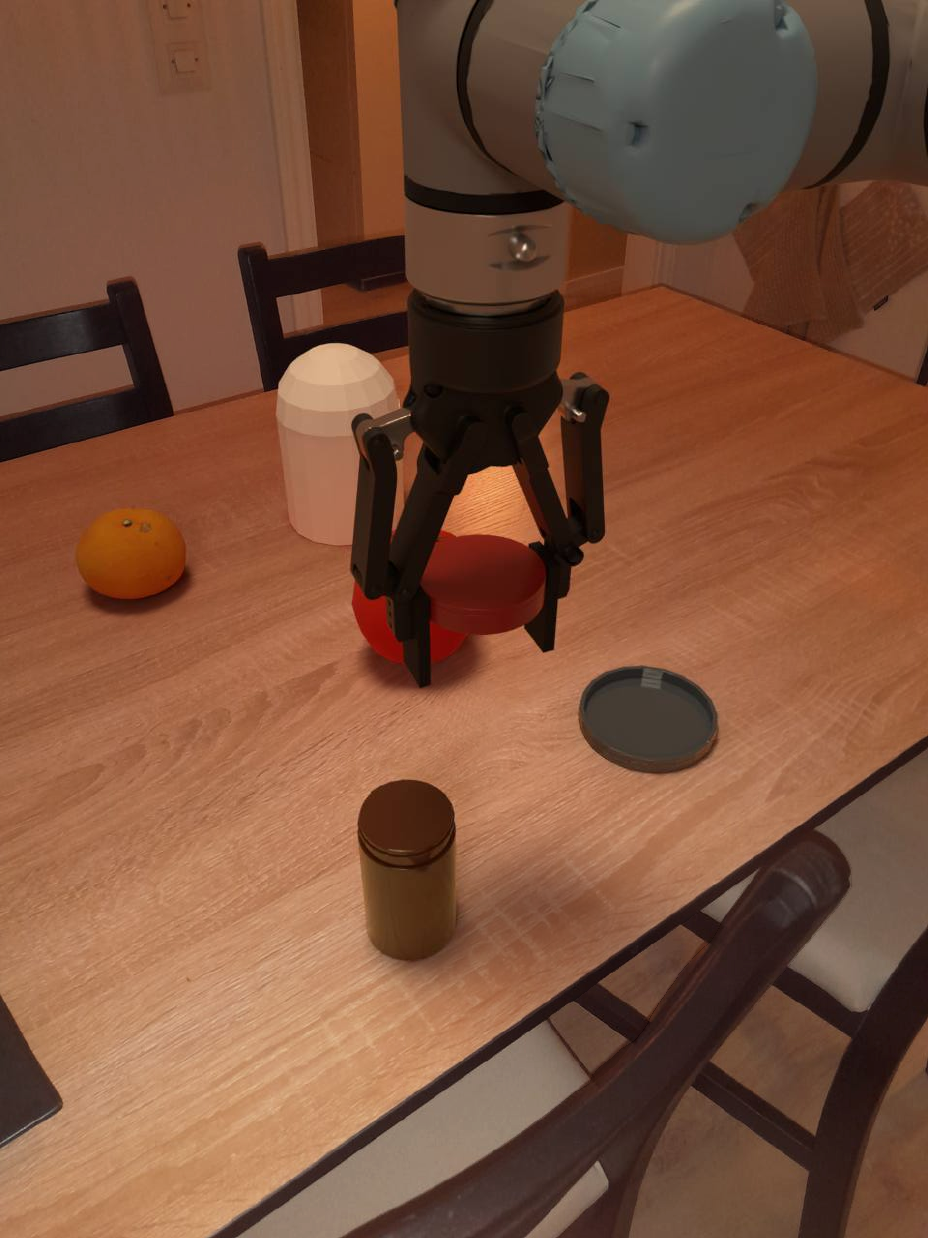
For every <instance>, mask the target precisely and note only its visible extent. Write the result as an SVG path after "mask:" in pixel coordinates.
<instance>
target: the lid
mask: <svg viewBox="0 0 928 1238" xmlns="http://www.w3.org/2000/svg"><path fill="white" fill-rule="evenodd" d="M545 584H546V568H545V565H544V563H543V561H542V559H541V558H540V556H539V555H538V554H537V553H536V552H535V551H533V550H532V549H531V548H529V547H528V545H526V544H524V543H522V542H520V541H518V540H515V539H512V538H509V537H505V536H502V535H501V536H500V535H496V534H480V533H477V534H464V535H459V536H456V537H453V538H450V539H447V540H444V541H441V542H439V543H437V544H435V546H434V549H433V551H432V554H431V556H430V559H429V561H428V564H427V566H426V569H425V571H424V574H423V576H422V579H421V582H420V585H421V587H422V588H423V590H424V591H425V592H426V594H427V595H428V597H429V598H430V620H431V621H432V622H433V623H435V624H437V625H439V626H441V627H443V628H445V629H448V630H451V631H454V632H458V633H463V634H467V635H471V636H490V635H499V634H503V633H508V632H511V631H514V630H516V629H519V628H521V627H524V625H525V624H527V623H528V622H530V621H531V620H532V619H534V618H535V616H536V615H537V614H538V613H539V612H540V610H541V608H542V606H543V604H544V599H545Z"/></svg>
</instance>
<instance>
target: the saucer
mask: <svg viewBox="0 0 928 1238" xmlns="http://www.w3.org/2000/svg"><path fill="white" fill-rule="evenodd" d="M577 714H578V723H579V728H580V731H581V734H582V735H583V738H584V739H585V740H586V742H587V743H588V744H589V746H590V747H591V748H592V749H593V750H594V751H595V752H596V753H597V754H599V755H601V757H603V758H604V759H606V760H608V761H610V762H612V763H613V764H616V765H618V766H620V767H624V768H626V769H629V770H633V771H638V772H643V773H657V774H659V773H668V772H675V771H679V770H683V769H686V768H688V767H691V766H692V765H694V764H696V763H698V762H699V761H700V760H702V759H703V758H704V757H705V756H706V755H707V754H708V753H709V751H710V750H711V748H712V746H713V743H714V741H715V740H716V737H717V731H718V722H719V721H718V719H719V714H718V712H717V709H716V707H715V704H714V702H713V700H712V698H711V697H710V696H709V695H708V694H707V693H706V691H704V690H703V689H702V687H701V686H700V685H699V684H697V683H695V682H693V680H690V679H689V678H687V677H686V676H684V675H682V674H679V673H676V672H674V671H671V670H668V669H666V668H660V667H654V666H649V665H632V666H631V665H630V666H621V667H617V668H613V669H611V670H607V671H604V672H603V673H601V674H600V675H598V676H597V677H595V678H594V679H591V681H590V682H589V683H588V684H587V686H586V687H585V688H584V690H583V691H582V693H581V697H580V701H579V706H578V713H577Z"/></svg>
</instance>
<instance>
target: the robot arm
mask: <svg viewBox="0 0 928 1238" xmlns="http://www.w3.org/2000/svg"><path fill="white" fill-rule="evenodd" d="M392 1H393V7H394V8H395V10H396V22H397V24H396V25H397V44H398V45H397V46H398V47H397V48H398V68H399V69H398V70H399V94H400V95H399V96H400V115H401V117H400V118H401V138H402V141H401V143H402V162H403V163H402V166H403V197H404V198H403V200H404V201H403V202H404V203H403V204H404V255H405V256H404V258H405V260H404V261H405V278H406V280H407V283H408V284H410V285H411V286H412V287H413V289H412V290H411V291H410V293H409V294H408V296H407V298H406V313H407V338H408V339H407V340H408V342H407V343H408V364H409V374H410V381H409V386H408V390H407V393H406V395H405V397H404V399H403V401H402V406H401V407H400V409H398V410H396V411H393V412H391V413H388V414H386V415H383V416H381V417H378V418H375V419H373V417H372V416H371V415H369V414H367V413H360V414H358V415H356V416H355V417H354V418H353V420H352V423H351V428H352V432H353V435H354V438H355V442H356V445H357V448H358V452H359V455H360V459H359V471H358V482H357V494H356V505H355V517H354V528H353V540H352V545H351V551H350V564H349V565H350V566H349V571H350V574H351V575H352V577H353V579H354V582H355V581H356V582H357V584H358V586H359V587H360V589H361V591H362V592H363V594H364V595H365V597H366V598H367V599H369V600H376V599H379V598H380V597H382V596H385V601H386V615H387V616H386V618H387V624H388V626H389V628H390V629H391V631H392V632H393V634H394V636H395V637H396V639H397V641H398V642H399V643H400V642H403V660H404V663H405V664H404V665H405V667H406V668H407V670H408V671H409V673H410V675H411V677H412V678H413V680H414V682H415V683H416V685H417V686H418V688H419V689H423V688H427V687H430V686H432V664H431V642H430V598H429V597H428V595H427V594H426V592H425V591H424V590H423V588H422V587H421V585H420V582H421V579H422V576H423V574H424V571H425V569H426V566H427V564H428V561H429V559H430V556H431V554H432V551H433V549H434V546H435V543H436V541H437V538H438V536H439V533H440V531H441V530H442V529H443V525H444V523H445V520H446V518H447V515H448V513H449V510H450V508H451V505H452V503H453V500H454V498H455V497H456V496H460V495H461V494H462V491H463V489H464V487H465V484H466V481H467V479H468V477H469V476H470V475H475V474H478V473H480V472H483V471H484V470H487V469H489V468H491V467H493V468H494V467H496V468H507V467H510V466H511V467H512V470H513V472H514V475H515V477H516V479H517V481H518V484H519V487H520V489H521V491H522V493H523V496H524V498H525V501H526V503H527V505H528V508H529V510H530V513H531V515H532V518H533V520H534V522H535V525H536V527H537V530H538V533H539V535H540V537H541V538H542V539H543V543H542V542H541V540H537V541H533V542H529V543H528V544H527V546H528V547H529V548H531V549H532V550H533V551H535V552H536V553H537V554H538V555H539V556H540V558H541V559H542V561H543V563H544V565H545V568H546V584H545V599H544V604H543V606H542V608H541V610H540V612H539V613H538V614H537V615H536V616H535V618H534V619H532V620H531V621H530V622H528V623H527V624H525V625H523V629H524V630H525V631H526V633H527V634H528V635H529V636H530V638H531V639H532V640H533V642H534V643H535V644H536V645H537V647H538V648H539V650H540V651H541V652H542V653H543V654H544V653H548V652H551V651H555V643H556V631H557V630H556V629H557V616H558V606H559V600H560V599H565V598H567V596H568V594H569V592H570V589H571V579H572V577H571V576H572V568H573V567H574V568H575V567H577V566H579V565H580V564H581V563H582V561H583V560H584V557H585V553H584V551H583V550H582V549H581V548H580V547H582V546H583V545H585V544H587V543H589V544H591V545H596V544H598V543H600V542H602V540H603V539H604V537H605V536H606V516H605V515H606V512H605V494H604V493H605V492H604V491H605V490H604V489H605V488H604V473H603V472H604V469H603V447H602V446H603V445H602V428H603V424H604V420H605V417H606V413H607V411H608V410H607V409H608V406H609V403H610V398H611V397H610V393H609V392H608V390H606V389H605V387H603V386H601V385H600V384H598V383H597V382H596V381H595V380H593V378H591V377H589V375H587V374H586V373H585V372H582V371H577V372H574V373H573V374H572V375H571V376H570V377H569V379H568V378H567V379H566V378H559V375H558V371H557V370H558V368H559V366H560V363H561V358H562V346H563V331H564V314H565V299H564V296H563V294H561V292H560V291H559V288H560V287H561V286H563V285H564V283H565V281H566V274H567V263H568V261H567V260H568V259H567V258H568V246H569V233H570V219H571V218H570V216H571V206H573V207H574V208H576V209H578V211H579V212H580V213H581V214H583V215H584V216H587V217H588V216H589V217H590V218H591V219H592V220H594V221H595V222H596V223H597V224H599V225H602V226H608V225H609V226H611V227H612V228H613V229H615V230H616V231H618V232H620V233H623V234H629V235H633V236H634V235H635V236H641V237H644V238H647V239H649V240H653V241H655V242H659V243H662V244H665V245H673V246H691V247H692V246H698V245H703V244H707V243H708V244H709V243H713V242H716V241H719V240H721V239H724V238H726V237H727V236H728V235H730V234H731V233H733V232H735V231H736V229H737V228H738V227H739V226H741V225H742V224H743V223H744V222H745V221H747V220H748V219H749V218H751V217H752V216H754V215H755V214H757V213H759V212H761V211H763V210H765V209H766V208H767V207H768V206H769V205H770V204H771V203H772V202H773V201H774V200H775V199H776V198H777V197H778V196H779V194H782V193H792V192H796V191H799V190H800V191H801V190H811V189H815V188H819V187H827V186H835V185H844V184H853V183H859V182H867V181H891V182H900V183H904V184H905V183H906V184H911V185H916V186H921V187H926V188H928V0H392ZM556 410H557V412H558V414H559V415H560V418H559V419H560V436H561V449H562V450H561V452H562V462H563V475H564V476H563V477H564V488H565V490H564V491H565V503H566V513H565V510H564V507H563V505H562V502H561V499H560V497H559V494H558V491H557V488H556V487H555V483H554V481H553V478H552V476H551V473H550V470H549V468H550V463H549V461H548V457H547V456H546V452H545V450H544V448H543V445H542V442H541V439H540V437H539V436H540V434H541V433H542V431H543V429H544V428H545V427H546V425H547V424H548V422H549V421H550V419H551V418H552V416H553V415H554V413H555V412H556ZM414 433H415V435H417V437H419V439H420V440H421V442H422V444H421V447H420V450H419V452H418V455H417V457H416V464H415V465H416V474H415V477H414V480H413V482H412V484H411V488H410V489H409V493H408V496H407V498H406V501H405V503H404V509H403V512H402V514H401V517H400V520H399V522H398V525H397V528H396V531H395V533H394V536H393V539H392V541H391V535H392V526H393V517H394V508H395V499H396V490H397V477H398V476H397V466H396V461H399V460H401V459H402V460H403V458H404V451H405V442H406V440H407V438H408V437H409V436H410V435H411V434H414ZM390 543H391V544H390Z"/></svg>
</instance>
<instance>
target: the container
mask: <svg viewBox="0 0 928 1238" xmlns="http://www.w3.org/2000/svg"><path fill="white" fill-rule="evenodd" d="M276 396H277V397H276V408H275V417H276V423H277V430H278V440H279V446H280V455H281V462H282V471H283V479H284V486H285V497H286V503H287V511H288V518H289V523H290V525H291V527H292V528H293V529H294V531H295V532H296V533H297V534H298V535H300V536H301V537H304V538H305V539H307V540H310V541H311V542H313V543H317V544H318V543H319V544H322V545H323V544H325V545H329V546H335V547H336V546H337V547H338V546H352V540H353V528H354V517H355V505H356V494H357V482H358V471H359V459H360V455H359V452H358V448H357V445H356V442H355V438H354V435H353V432H352V428H351V423H352V420H353V418H354V417H355V416H356V415H358V414H360V413H367V414H369V415H371V416H372V417H373V419H375V418H378V417H381V416H383V415H386V414H388V413H391V412H393V411H396V410H398V409H401V403H400V398H399V396H398V392H397V388H396V385H395V381H394V378H393V376H391V374H390V373H389V371H388V370H387V369H386V368H385V367H384V365H383V364H382V363H381V362H380V360H379V359H377V357H375V356H374V355H373V354H371V353H369V352H366V351H365V350H362V349H360V348H359V347H356V346H353V345H351V344H347V343H340V342H333V343H325V344H320V345H317V346H315V347H312V348H311V349H309V350H307V351H306V352H304V353H303V354H300V355H299V356H297V357H296V358H295V359H294V360H292V362H290V364H289V365H288V367H287V369H286V370H285V371H284V374H283V375H282V377H281V378H280V380H279V382H278V388H277V395H276ZM396 466H397V476H398V477H397V490H396V499H395V508H394V517H393V526H392V531H394V530H396V528H397V525H398V522H399V520H400V517H401V514H402V512H403V509H404V506H405V493H404V467H403V466H404V465H403V458H402V459H401V460H399V461H396Z"/></svg>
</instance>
